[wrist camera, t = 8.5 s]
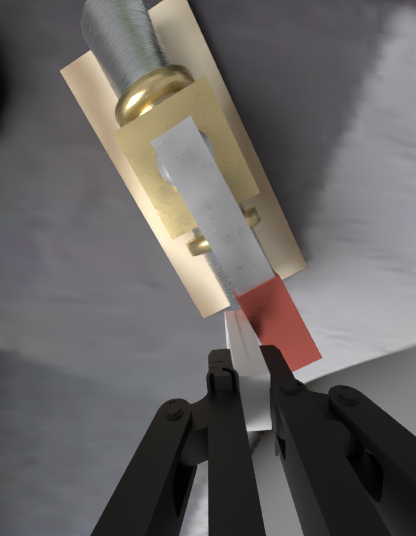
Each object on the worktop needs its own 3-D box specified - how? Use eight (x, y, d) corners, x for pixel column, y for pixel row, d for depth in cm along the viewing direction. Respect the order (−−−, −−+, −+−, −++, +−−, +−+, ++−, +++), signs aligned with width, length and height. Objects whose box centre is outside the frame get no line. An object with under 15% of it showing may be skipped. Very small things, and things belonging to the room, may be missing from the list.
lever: (150, 152, 16) (130, 132, 12) (197, 122, 15) (192, 91, 11) (261, 345, 19) (275, 379, 15) (303, 324, 19) (328, 354, 15)
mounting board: (182, 0, 20) (181, -12, 19) (303, 264, 25) (307, 267, 24) (68, 78, 22) (60, 70, 21) (203, 313, 27) (203, 318, 26)
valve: (95, 72, 21) (38, 3, 14) (163, 27, 21) (137, -70, 13) (219, 297, 26) (223, 329, 19) (278, 268, 25) (305, 289, 18)
